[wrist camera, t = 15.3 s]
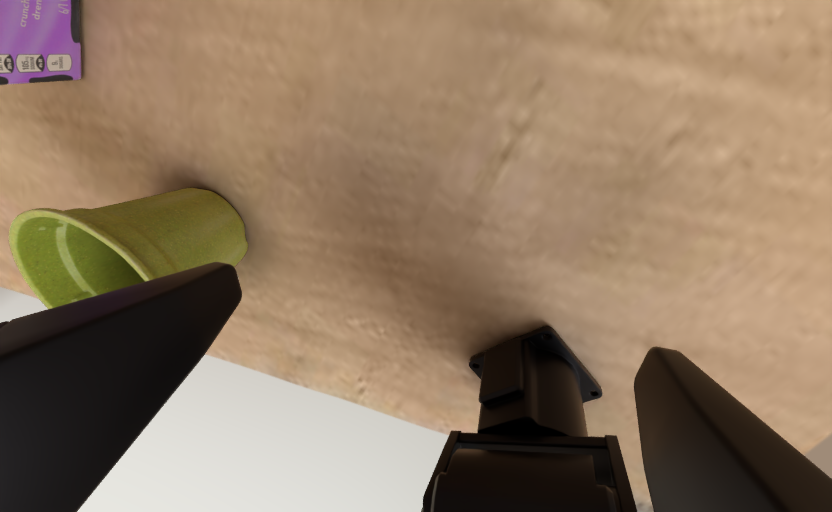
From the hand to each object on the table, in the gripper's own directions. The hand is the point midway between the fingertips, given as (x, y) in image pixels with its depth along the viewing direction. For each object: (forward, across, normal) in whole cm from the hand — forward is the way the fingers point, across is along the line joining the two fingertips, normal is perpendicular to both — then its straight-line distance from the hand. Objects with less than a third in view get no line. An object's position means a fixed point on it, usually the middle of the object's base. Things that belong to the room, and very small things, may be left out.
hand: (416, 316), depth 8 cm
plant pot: (+13, +18, +7) cm, 24 cm away
